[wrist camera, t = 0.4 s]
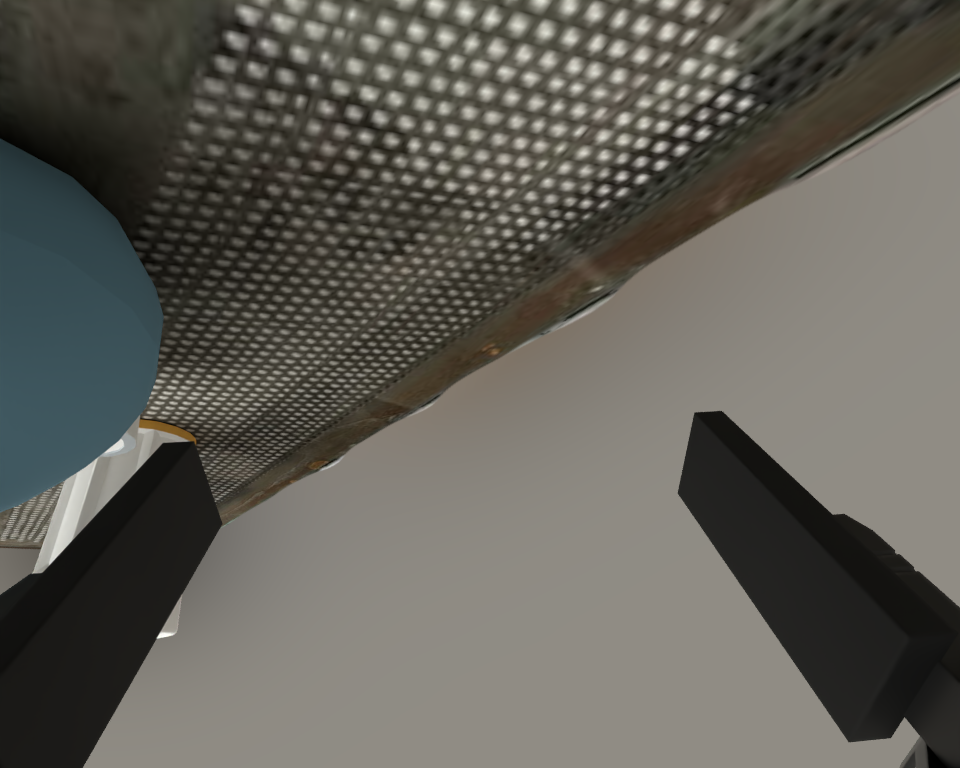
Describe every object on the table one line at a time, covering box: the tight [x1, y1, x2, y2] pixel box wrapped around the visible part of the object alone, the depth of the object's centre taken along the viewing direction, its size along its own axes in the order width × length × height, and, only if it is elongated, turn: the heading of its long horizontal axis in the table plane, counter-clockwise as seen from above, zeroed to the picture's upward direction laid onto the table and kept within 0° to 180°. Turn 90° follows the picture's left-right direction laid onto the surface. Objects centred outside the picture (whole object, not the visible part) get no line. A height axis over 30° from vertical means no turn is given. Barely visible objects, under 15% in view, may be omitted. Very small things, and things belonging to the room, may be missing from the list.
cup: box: [32, 419, 196, 638], centre depth 42 cm, size 11×11×17 cm
